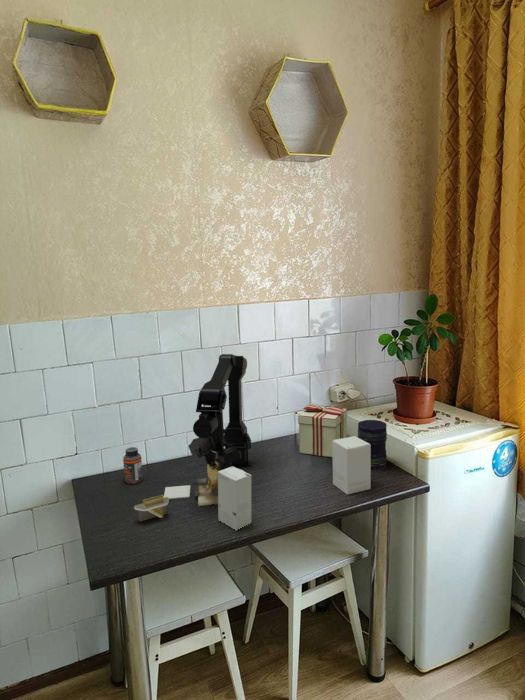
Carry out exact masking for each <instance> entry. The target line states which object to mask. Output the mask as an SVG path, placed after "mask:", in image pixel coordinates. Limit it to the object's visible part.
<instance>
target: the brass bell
mask: <svg viewBox="0 0 525 700" xmlns="http://www.w3.org/2000/svg"><path fill="white" fill-rule="evenodd" d="M206 468H207V484H205V485H206V486H205V485H202V486H203V487H202V490H203V491H205V492H206V491H209V490H212V489H213V490H218V471H219V464H218V463H217V462H216V461H213V462H210V463H208V464H207V465H206Z"/></svg>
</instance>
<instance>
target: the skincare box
mask: <svg viewBox="0 0 525 700" xmlns="http://www.w3.org/2000/svg"><path fill="white" fill-rule="evenodd" d="M217 506H218V507H217V511H218V512H217V514H218V515H217V517H218V521H219V522H220V521H221V522H220V523H222V524H224V523H225V524H224V525H226V526H229V528H231V529H232V530H234V529H235V530H234V531H238V529H239V530H241V529H242V527H243V528H245V527H247V526H249V525H251V524H252V474H250V473H248V472H246V471H244V470H243V469H240V468H235V467H233V466H229V468H226V469H224V470H221V471H218V504H217ZM250 523H251V524H250ZM248 524H249V525H248ZM246 525H247V526H246ZM244 526H245V527H244ZM240 528H241V529H240Z"/></svg>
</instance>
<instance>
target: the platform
mask: <svg viewBox="0 0 525 700" xmlns="http://www.w3.org/2000/svg"><path fill="white" fill-rule="evenodd" d="M169 501H170V499H169V498H168V497H164V494H160V495H157V496H153V497H149V498H145V499H142V503H139V504H136V505H133V509H134V510H135V511H138V521H139V522H143V521H147V520H151V519H153V518H160V519H161V518H164V515H167V506H168V505H169Z"/></svg>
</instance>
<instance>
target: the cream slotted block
mask: <svg viewBox="0 0 525 700" xmlns="http://www.w3.org/2000/svg"><path fill="white" fill-rule="evenodd" d="M193 484H194V486H193V487H194V497H197V501H198V502H197V504H198V507H200V506H213V505H212V504H214V505H218V490H213V489H212V490H209V491H206V492H205V491H203V490H202V487H203V486H206V485H207V477H203V478H194V481H193ZM204 484H205V485H204Z"/></svg>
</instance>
